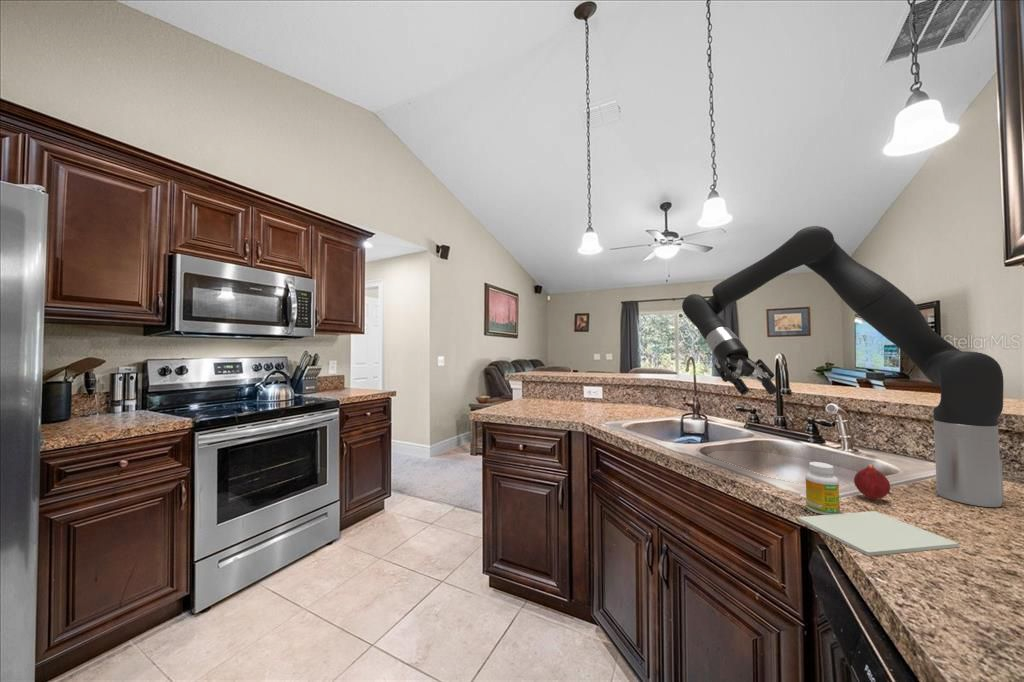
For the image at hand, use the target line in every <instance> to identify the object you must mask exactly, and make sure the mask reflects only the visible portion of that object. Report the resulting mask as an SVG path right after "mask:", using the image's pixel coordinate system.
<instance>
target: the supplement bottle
mask: <svg viewBox="0 0 1024 682" xmlns="http://www.w3.org/2000/svg"><path fill="white" fill-rule="evenodd" d="M808 469H809V471H808V472H807V473H806V474H805V500H806V503H805V504H806V508H807V509H808V510H809V511H811V512H813V513H816V514H819V515H832V514H841V513H840V510H841V509H840V485H839V484H840V483H839V479H838V477H836V476H835V475H833V474H835V473H834V472H835V471H834V470H835V469H834V465H831V464H830V463H825V462H820V461H810V462H809V463H808Z"/></svg>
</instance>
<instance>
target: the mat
mask: <svg viewBox="0 0 1024 682" xmlns="http://www.w3.org/2000/svg"><path fill="white" fill-rule="evenodd" d="M797 521H799V522H800V523H802V524H804V525H806V526H808V527H809V528H812V529H814V530H816V531H818V532H820V533H822V534H824V535H825V536H828V537H830V538H832V539H833V540H836V541H838V542H840V543H841V544H843V545H845V546H848V547H849V548H851V549H853V550H855V551H858V552H859V553H861V554H864V555H865V556H868V557H872V556H881V555H891V554H901V553H912V552H913V553H915V552H923V551H924V552H925V551H934V550H935V551H936V550H942V549H943V550H944V549H951V548H952V549H955V548H959V547H960V544H959V543H958V542H957V541H953V540H951V539H947V538H945V537H942V536H940V535H938V534H935V533H933V532H930V531H927V530H925V529H922V528H920V527H918V526H915V525H912V524H909V523H907V522H905V521H901V520H899V519H896V518H895V517H892V516H889V515H887V514H883V513H881V512H878V511H876V510H871V511H869V510H868V511H860V512H857V511H856V512H849V513H848V512H847V513H846V512H845V513H839V514H832V515H822V514H819V515H810V516H798V517H797Z"/></svg>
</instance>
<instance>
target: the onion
mask: <svg viewBox="0 0 1024 682" xmlns="http://www.w3.org/2000/svg"><path fill="white" fill-rule="evenodd" d="M853 483H854V485H855V487H856V489H857V490H858V492H860V493H861V494H862V495H863V496H864V497H866V498H867V499H868V500H870V501H877V500H878V499H882V498H884V497H887V495H888V494H889V493H890V490H891V483H890V481H889V478H887V476H886V475H884V473H883V472H881V471H880V470H878V469H876V468H875V466H874V465H873V464H872V463H869V464H867V467H866V468H862V469H861V470H859V471H858V472H856V474H855V475H854V479H853Z"/></svg>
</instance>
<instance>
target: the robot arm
mask: <svg viewBox="0 0 1024 682" xmlns="http://www.w3.org/2000/svg"><path fill="white" fill-rule="evenodd" d="M801 266H805V267H807V268H809V269H810V270H811V271H812V272H814V273H816V274H817V275H818V276H820V277H821V278H822V279H823V280H824V281H825V282H827V284H828V285H829V286H830V287H831V288H832V289H833V290H834V292H835V293H836V294H837V296H839V297H840V298H841V299H842V301H843V302H844V303H845V305H848V307H849V308H850V309H851V310H852V311H853V312H854V313H855V314H857V315H858V317H860V318H862V320H864V321H865V322H866V323H867V324H868V325H869V326H871V327H872V328H873V329H875V330H876V331H877V332H878V333H879V334H881V335H882V336H883V337H885V339H887V340H888V341H889V342H890V343H892V344H893V345H895V346H896V347H898V349H900V351H902V352H903V353H904V355H906V356H907V357H908V359H910V361H911V362H912V363H913V364H914V365H915V366H916V367H917V368H918V369H919V371H921V373H923V375H924V376H925V377H926V378H927V379H928V380H929V381H930V382H931V383H932V384H934V385H935V386H937V387H939V388H940V401H939V403H938V405H937V406H935V407H934V408H933V411H932V412H933V413H932V415H933V417H932V418H933V434H934V455H935V457H934V458H935V459H934V460H935V482H936V483H935V484H936V494H937V495H938V496H940V497H942V498H944V499H947V500H950V501H953V502H957V503H962V504H966V505H969V506H970V505H971V506H977V507H984V508H986V507H987V508H999V507H1002V505H1003V504H1004V502H1005V498H1004V497H1005V496H1004V495H1005V494H1004V479H1003V477H1004V473H1003V460H1002V459H1001V456H1000V455H1001V454H1000V439H999V438H1000V437H999V417H1000V415H1001V414H1002V413H1003V409H1004V374H1003V370H1002V367H1001V366H1000V364H999V362H998V361H997V360H996V359H995V358H993V357H992V356H990V355H988V354H986V353H982V352H979V351H978V352H977V351H965V350H964V351H962V350H960V349H959V348H957V347H956V346H955V345H953V344H952V343H950V342H949V341H947V340H946V339H944V338H943V337H942V336H941V335H939V334H938V333H937V332H936V331H935V330H934V329H933V328H932V326H930V324H929V323H928V321H927V320H926V318H925V316H924V315H923V313H922V312H921V310H920V309H919V307H918V306H917V305H916V303H915V302H914V301H913V300H912V299H911V298H910V297H909V296H908V295H907V294H906V293H904V292H903V291H901V290H900V289H899V288H898V287H897V286H895V285H894V284H893V283H892V282H891V281H889V280H887V279H886V278H885V277H883V276H882V275H880V274H878V273H877V272H875V271H873V270H872V269H869V268H868V267H866V266H864V265H862V264H861V263H859V262H858V261H856V260H855V259H854V258H852V257H851V256H850V255H849V254H848V253H847V252H846V251H845V250H844V249H843V248H842V247H841V246H840V245H839V244H838V243H837V242H836V241H835V237H834V234H833V233H832V232H831V230H829V229H828V228H826V227H823V226H819V225H812V226H806V227H804V228H801V229H800V230H798V231H797V232H796V233H795V234H794V235H793V236H791V237H790V238H789V239H788V240H786V241H785V242H784V243H783V244H782V245H780V246H779V247H778V248H776V249H775V250H773V251H772V252H770V253H769V254H768V255H766V256H764V257H763V258H761V259H760V260H758V261H756V262H754V263H753V264H750V266H747V267H745V268H744V269H742V270H740V271H738V272H736V273H735V274H732V275H731V276H730V277H727V278H726V279H724V280H723V281H721V282H719V283H718V284H716V285H715V286H713V288H712V291H711V292H712V296H710V297H709V298H708V299H706V298H705V297H704V296H702V295H700V294H696V293H692V294H690V295H688V296H686V297H685V298H684V299H683V300H682V304H681V309H682V311H683V314H684V315H685V316H686V317H687V318H688V320H690V321H689V322H691V323H692V324H693V325H694V326H695V327H696V329H697V330H698V332H699V333H700V334H701V336H702V337H703V339H704V341H705V342H706V345H707V346H708V348H709V349H710V351H711V352H712V354H713V355H714V357H715V358H716V359H717V361H716V362H715V364H714V365H713V367H714V368H715V370H716V371H717V373H718V375H719V376H720V378H721V379H722V381H723V382H725V383H727V382H729V383H730V384H731V385H733V386H734V387H735V388H736V391H737V392H738V393H739V394H740V395H742V396H745V395H747V393H748V392H749V391H750V389H749V387H748V386H747V385H746V382H744V381H743V379H742V378H741V377H746V378H747V377H748V378H750V379H752V380H756V381H758V382H759V383H761V385H762V387H763V389H765V391H766V392H767V394H768V395H775V393H776V392H778V388H777V387H776V385H775V384H774V382H773V381H772V379H773V378H774V377H775V373H773V372H772V370H771V369H770V368H769V366H768V365H766V363H765V362H764V361H763V360H762V359H757V361H753V360H752V359H751V358H750V356H749V350H748V349H747V348H746V346H745V345H744V344H743V342H742V341H741V340H740V338H739V337H738V336H737V335H736V334H735V332H733V331H732V330H731V328H730V327H729V326H728V325H727V324H726V323H725V321H724V320H723V319H722V318H721V317H720V316H719V315H720V313H722V312H724V310H726V308H727V307H728V306H730V305H731V304H733V303H735V302H737V301H739V300H740V299H742V298H744V297H746V296H748V295H750V294H751V293H753V292H754V291H756V290H758V289H759V288H761V287H762V286H764V285H766V284H767V283H769V282H770V281H772V280H774V279H775V278H777V277H779V276H781V275H783V274H784V273H787V272H789V271H791V270H793V269H796V268H799V267H801ZM755 371H756V372H755ZM754 372H755V373H754ZM753 373H754V374H753ZM760 376H761V377H760Z"/></svg>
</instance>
